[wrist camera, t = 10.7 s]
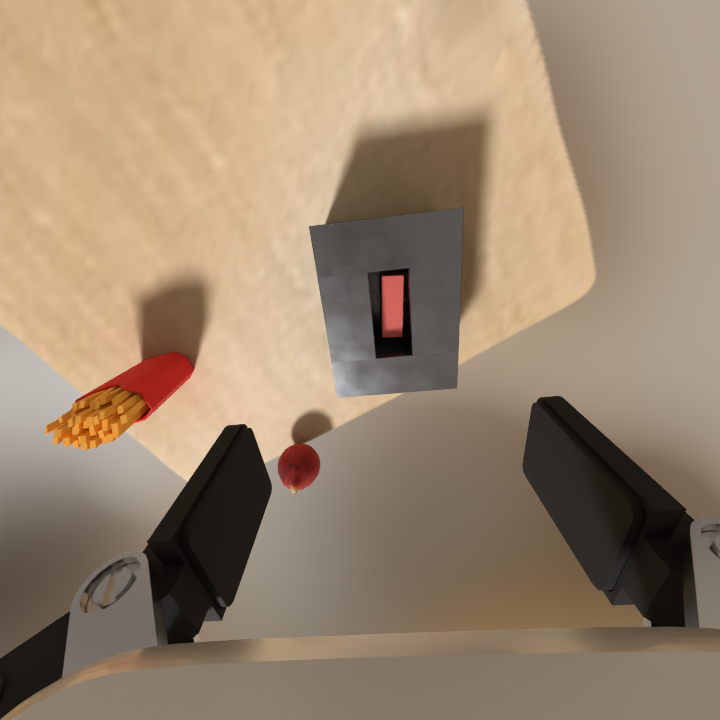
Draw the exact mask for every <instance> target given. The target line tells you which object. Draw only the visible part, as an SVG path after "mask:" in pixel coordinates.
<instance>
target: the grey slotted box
mask: <svg viewBox="0 0 720 720" xmlns="http://www.w3.org/2000/svg"><path fill="white" fill-rule="evenodd" d="M463 216H464V208H455V209H447V210H439V211H431V212H423V213H414V214H406V215H398V216H390V217H382V218H374V219H365V220H357V221H349V222H341V223H333V224H324V225H316V226H309V229H310V235H311V241H312V247H313V253H314V259H315V265H316V271H317V277H318V283H319V289H320V295H321V301H322V307H323V313H324V319H325V325H326V331H327V337H328V343H329V349H330V355H331V361H332V367H333V373H334V379H335V385H336V391H337V397H338V398H342V397H354V396H366V395H379V394H391V393H404V392H415V391H428V390H441V389H453V388H457V376H458V350H459V323H460V296H461V270H462V243H463ZM396 269H400V271H401V272H402V274H403V275H404V284H403V326H402V337H382V331H381V323H380V271H387V270H396Z"/></svg>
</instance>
